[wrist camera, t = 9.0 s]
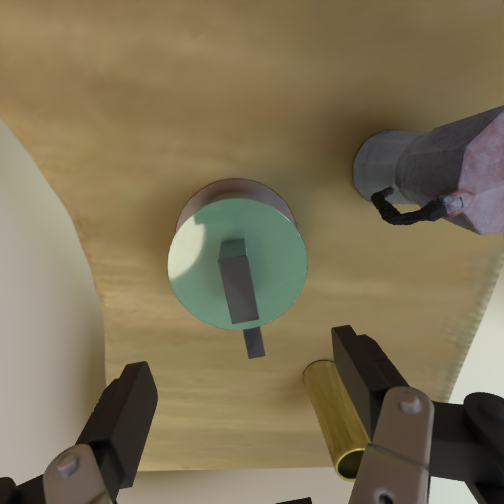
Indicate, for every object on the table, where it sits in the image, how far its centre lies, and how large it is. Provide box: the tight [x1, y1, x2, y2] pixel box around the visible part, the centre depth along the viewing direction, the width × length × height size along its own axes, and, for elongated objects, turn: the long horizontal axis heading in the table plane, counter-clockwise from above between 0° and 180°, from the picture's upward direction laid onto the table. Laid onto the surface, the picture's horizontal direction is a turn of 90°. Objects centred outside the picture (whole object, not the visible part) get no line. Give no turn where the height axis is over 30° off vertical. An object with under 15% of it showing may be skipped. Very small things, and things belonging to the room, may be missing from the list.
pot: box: [167, 192, 307, 359], centre depth 32 cm, size 19×14×15 cm
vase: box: [303, 361, 371, 482], centre depth 40 cm, size 6×6×14 cm
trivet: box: [175, 179, 297, 234], centre depth 39 cm, size 16×16×1 cm
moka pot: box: [353, 105, 504, 235], centre depth 28 cm, size 10×15×20 cm, turn 119°
